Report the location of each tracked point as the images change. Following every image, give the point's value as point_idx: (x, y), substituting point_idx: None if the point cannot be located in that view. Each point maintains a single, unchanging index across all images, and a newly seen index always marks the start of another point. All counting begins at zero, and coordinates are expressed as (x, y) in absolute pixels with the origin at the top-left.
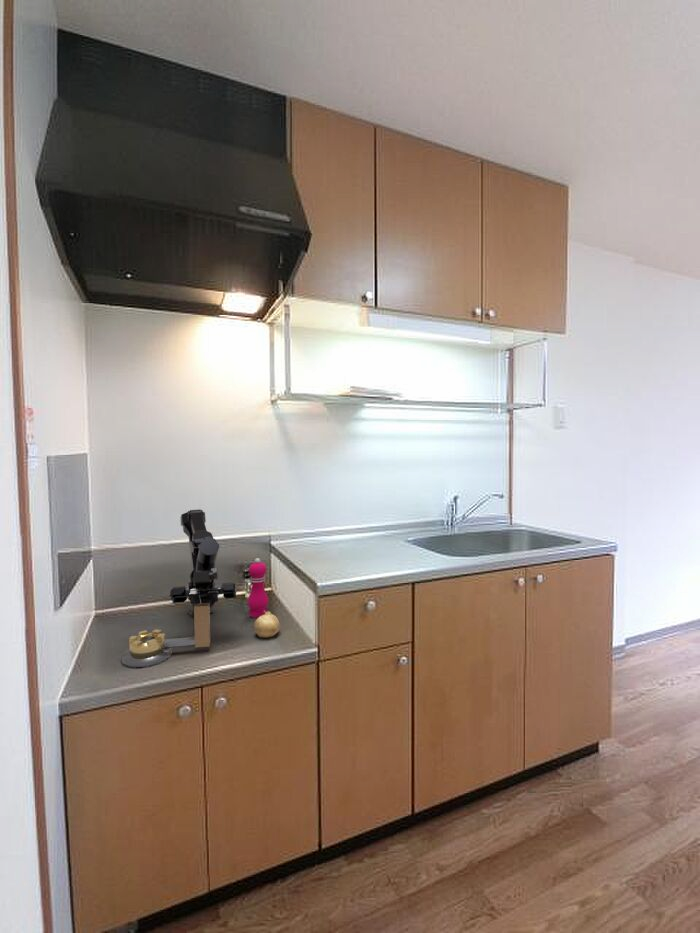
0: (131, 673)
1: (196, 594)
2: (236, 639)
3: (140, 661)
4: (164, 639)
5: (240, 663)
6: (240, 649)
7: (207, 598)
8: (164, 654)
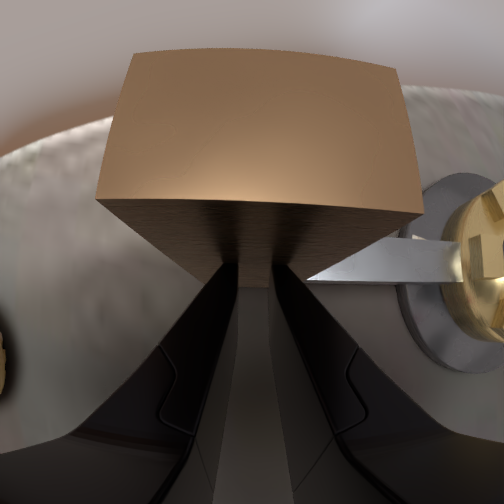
0: (474, 157)
1: (500, 500)
2: (86, 356)
3: (481, 182)
4: (464, 272)
5: (92, 123)
6: (72, 240)
7: (154, 469)
8: (422, 216)
